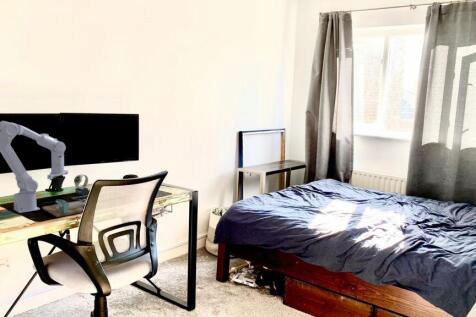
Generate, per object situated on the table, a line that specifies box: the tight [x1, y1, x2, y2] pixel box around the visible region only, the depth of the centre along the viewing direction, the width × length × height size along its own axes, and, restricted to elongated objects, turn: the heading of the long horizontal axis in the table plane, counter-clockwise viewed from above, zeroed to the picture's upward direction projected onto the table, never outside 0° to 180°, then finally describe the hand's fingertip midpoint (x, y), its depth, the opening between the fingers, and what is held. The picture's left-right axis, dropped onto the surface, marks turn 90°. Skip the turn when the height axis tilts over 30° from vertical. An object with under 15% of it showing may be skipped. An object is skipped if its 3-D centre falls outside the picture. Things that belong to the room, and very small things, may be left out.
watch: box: [73, 173, 89, 196], centre depth 236 cm, size 6×8×11 cm
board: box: [41, 199, 84, 218], centre depth 207 cm, size 21×17×1 cm
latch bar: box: [56, 198, 87, 211], centre depth 205 cm, size 16×4×3 cm, turn 142°
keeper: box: [55, 198, 69, 213], centre depth 200 cm, size 2×9×5 cm, turn 47°
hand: (58, 190), depth 213 cm, fingers closed
